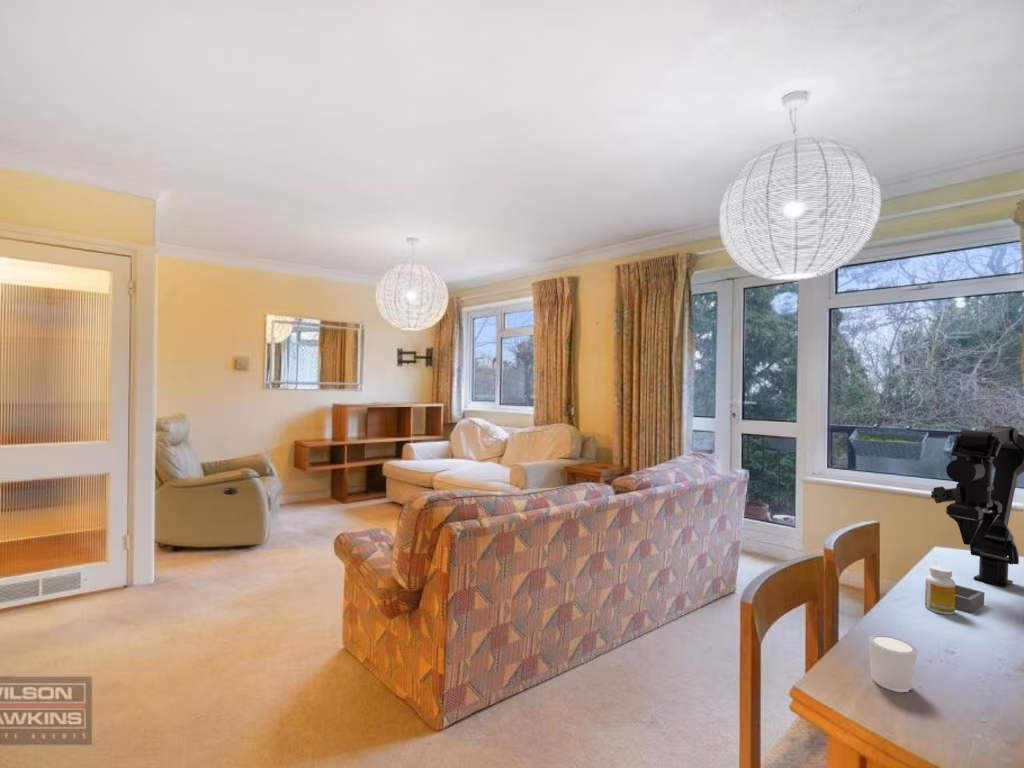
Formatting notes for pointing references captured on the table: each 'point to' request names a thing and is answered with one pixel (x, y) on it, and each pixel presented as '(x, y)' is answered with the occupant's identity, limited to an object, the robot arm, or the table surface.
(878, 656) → the white cylinder
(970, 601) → the frame
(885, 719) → the table surface
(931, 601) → the supplement bottle
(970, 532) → the robot arm
